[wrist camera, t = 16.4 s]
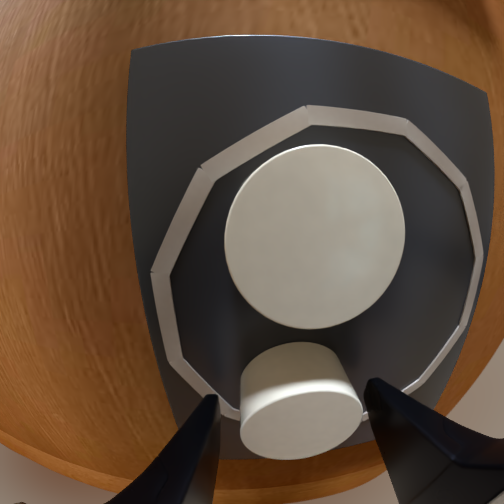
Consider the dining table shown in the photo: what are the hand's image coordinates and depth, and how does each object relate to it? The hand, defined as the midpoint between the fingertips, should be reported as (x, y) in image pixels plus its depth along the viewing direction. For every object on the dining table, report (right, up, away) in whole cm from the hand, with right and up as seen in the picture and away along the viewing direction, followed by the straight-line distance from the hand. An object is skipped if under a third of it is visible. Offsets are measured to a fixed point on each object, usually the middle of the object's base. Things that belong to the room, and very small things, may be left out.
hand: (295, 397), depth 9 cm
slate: (+2, +3, +1) cm, 4 cm away
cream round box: (0, 0, +1) cm, 1 cm away
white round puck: (0, +6, -1) cm, 6 cm away
